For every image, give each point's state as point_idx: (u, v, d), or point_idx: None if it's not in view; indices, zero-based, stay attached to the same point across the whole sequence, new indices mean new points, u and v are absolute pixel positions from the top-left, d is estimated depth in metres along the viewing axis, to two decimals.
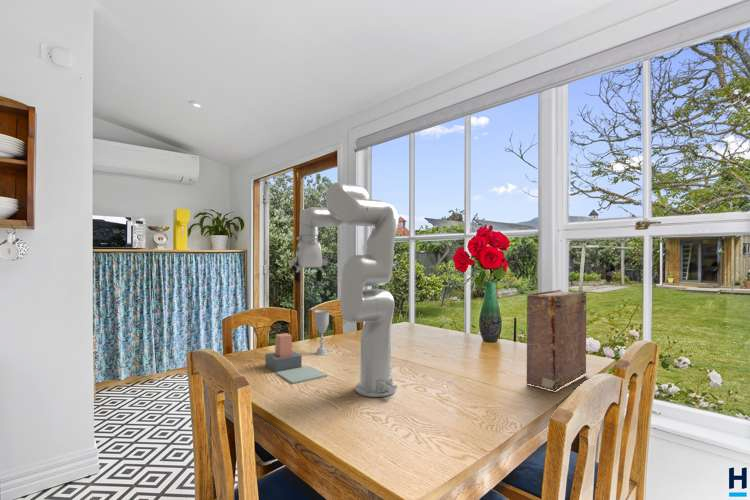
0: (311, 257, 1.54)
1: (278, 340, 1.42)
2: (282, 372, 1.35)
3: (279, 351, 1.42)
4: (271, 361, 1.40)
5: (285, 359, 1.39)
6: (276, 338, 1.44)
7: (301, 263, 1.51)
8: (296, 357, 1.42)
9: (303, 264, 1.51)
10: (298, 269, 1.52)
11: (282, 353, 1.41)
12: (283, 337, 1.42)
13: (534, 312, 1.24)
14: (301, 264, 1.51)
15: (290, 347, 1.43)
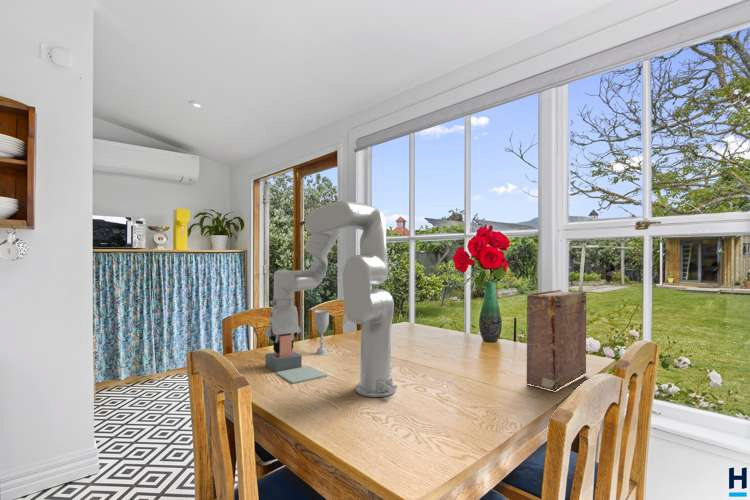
0: (286, 322, 1.42)
1: (278, 340, 1.42)
2: (282, 372, 1.35)
3: (279, 351, 1.42)
4: (271, 361, 1.40)
5: (285, 359, 1.39)
6: None
7: (275, 330, 1.39)
8: (296, 357, 1.42)
9: (277, 331, 1.40)
10: (277, 339, 1.41)
11: (282, 353, 1.41)
12: (283, 337, 1.42)
13: (534, 312, 1.24)
14: (275, 332, 1.39)
15: (290, 347, 1.43)
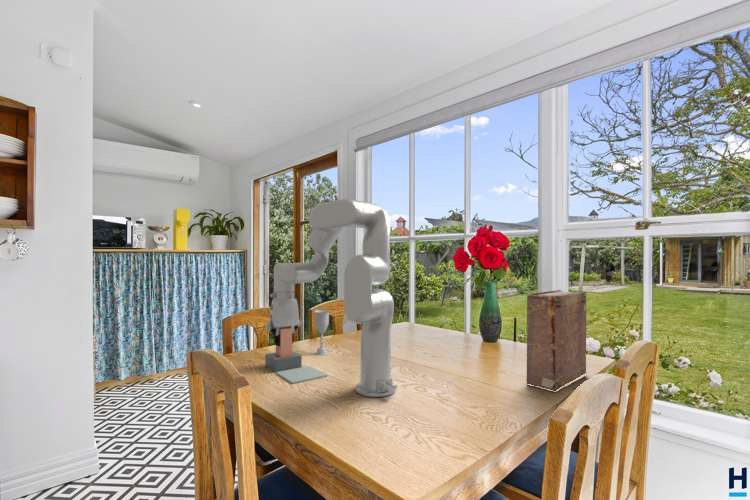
0: (286, 315, 1.42)
1: (279, 333, 1.42)
2: (282, 372, 1.35)
3: None
4: (271, 361, 1.40)
5: (285, 359, 1.39)
6: None
7: (275, 323, 1.39)
8: (296, 357, 1.42)
9: (277, 324, 1.39)
10: (278, 332, 1.41)
11: (283, 345, 1.41)
12: (283, 330, 1.41)
13: (534, 312, 1.24)
14: (275, 324, 1.39)
15: (291, 340, 1.43)
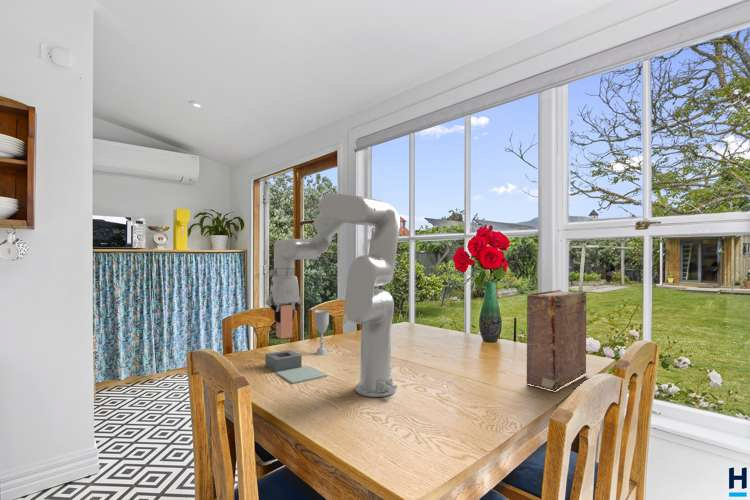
0: (287, 292, 1.42)
1: (279, 309, 1.42)
2: (282, 372, 1.35)
3: None
4: (271, 361, 1.40)
5: (285, 359, 1.39)
6: None
7: (275, 299, 1.39)
8: (296, 357, 1.42)
9: (278, 300, 1.39)
10: (278, 308, 1.41)
11: (283, 322, 1.41)
12: (284, 306, 1.41)
13: (534, 312, 1.24)
14: (275, 300, 1.39)
15: (291, 317, 1.43)
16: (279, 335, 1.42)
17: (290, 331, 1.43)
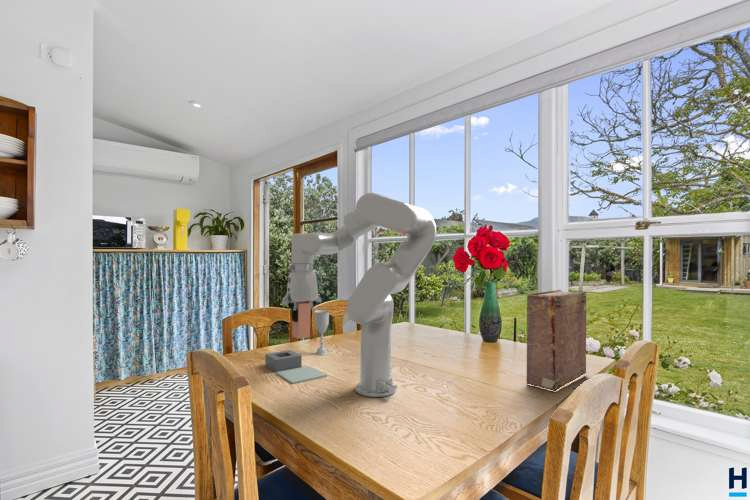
0: (305, 289, 1.32)
1: None
2: (282, 372, 1.35)
3: None
4: (271, 361, 1.40)
5: (285, 359, 1.39)
6: None
7: (293, 297, 1.30)
8: (296, 357, 1.42)
9: (295, 298, 1.30)
10: (296, 307, 1.32)
11: (301, 321, 1.32)
12: (302, 304, 1.32)
13: (534, 312, 1.24)
14: (293, 298, 1.30)
15: (309, 316, 1.34)
16: (296, 335, 1.32)
17: (308, 331, 1.34)
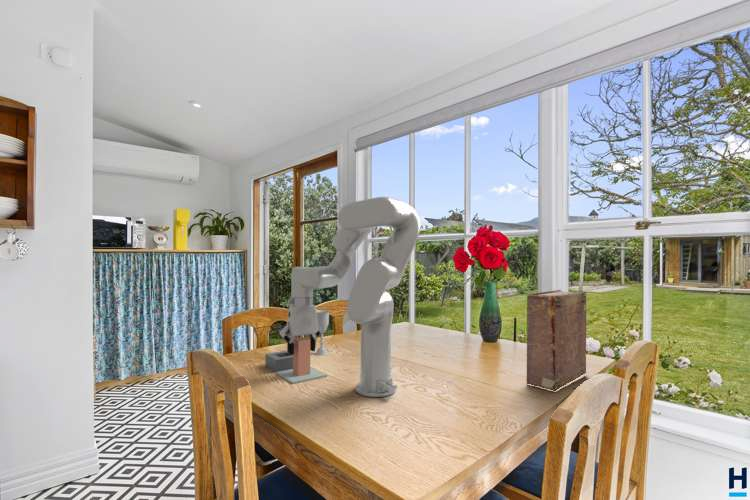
0: (305, 323, 1.32)
1: (296, 345, 1.33)
2: (282, 372, 1.35)
3: (297, 356, 1.32)
4: (271, 361, 1.40)
5: (285, 359, 1.39)
6: (294, 342, 1.34)
7: (293, 331, 1.29)
8: None
9: (295, 332, 1.30)
10: (292, 339, 1.31)
11: (301, 358, 1.32)
12: (301, 341, 1.32)
13: (534, 312, 1.24)
14: (293, 332, 1.29)
15: (309, 352, 1.34)
16: (296, 372, 1.32)
17: (308, 368, 1.33)
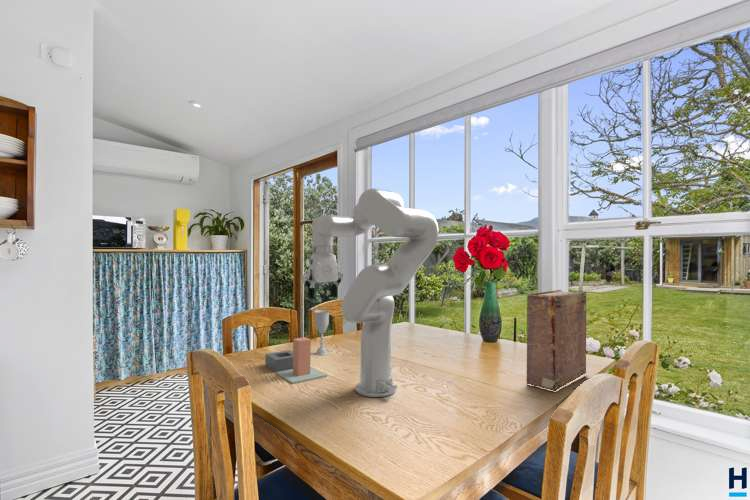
0: (326, 270, 1.37)
1: (296, 345, 1.32)
2: (282, 372, 1.35)
3: (297, 356, 1.32)
4: (271, 361, 1.40)
5: (285, 359, 1.39)
6: (294, 343, 1.34)
7: (316, 278, 1.35)
8: None
9: (318, 279, 1.35)
10: (312, 284, 1.35)
11: (301, 358, 1.32)
12: (301, 342, 1.32)
13: (534, 312, 1.24)
14: (316, 279, 1.35)
15: (309, 352, 1.34)
16: (296, 372, 1.32)
17: (308, 368, 1.33)
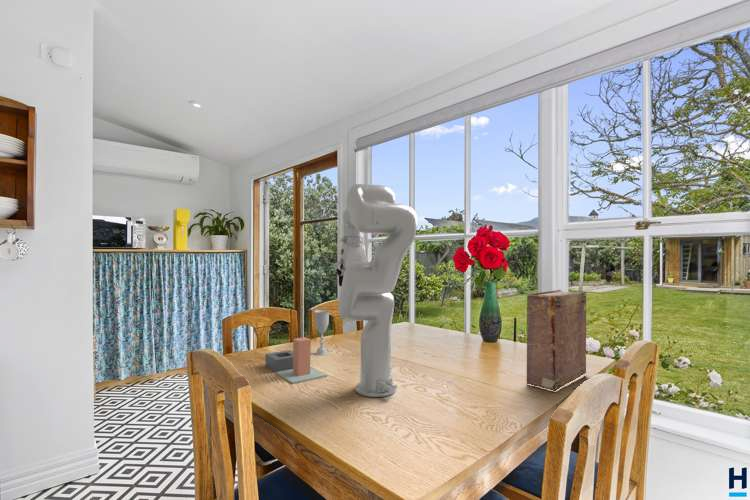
0: (356, 259, 1.46)
1: (296, 345, 1.32)
2: (282, 372, 1.35)
3: (297, 356, 1.32)
4: (271, 361, 1.40)
5: (285, 359, 1.39)
6: (294, 343, 1.34)
7: (346, 266, 1.44)
8: None
9: None
10: (343, 272, 1.44)
11: (301, 358, 1.32)
12: (301, 342, 1.32)
13: (534, 312, 1.24)
14: (346, 267, 1.44)
15: (309, 352, 1.34)
16: (296, 372, 1.32)
17: (308, 368, 1.33)
